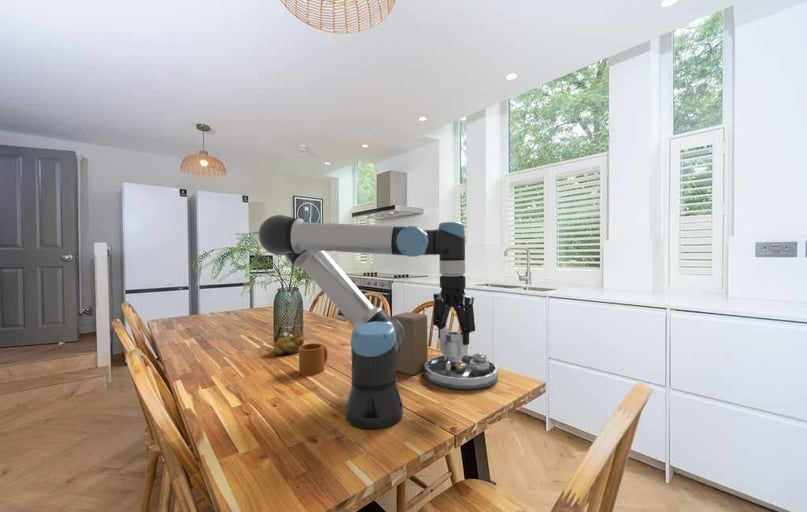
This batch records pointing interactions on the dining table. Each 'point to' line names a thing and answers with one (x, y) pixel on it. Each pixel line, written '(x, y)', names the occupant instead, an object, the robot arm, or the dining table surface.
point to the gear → (451, 344)
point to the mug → (312, 358)
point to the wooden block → (412, 343)
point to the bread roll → (288, 345)
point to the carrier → (461, 372)
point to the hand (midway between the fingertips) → (453, 352)
